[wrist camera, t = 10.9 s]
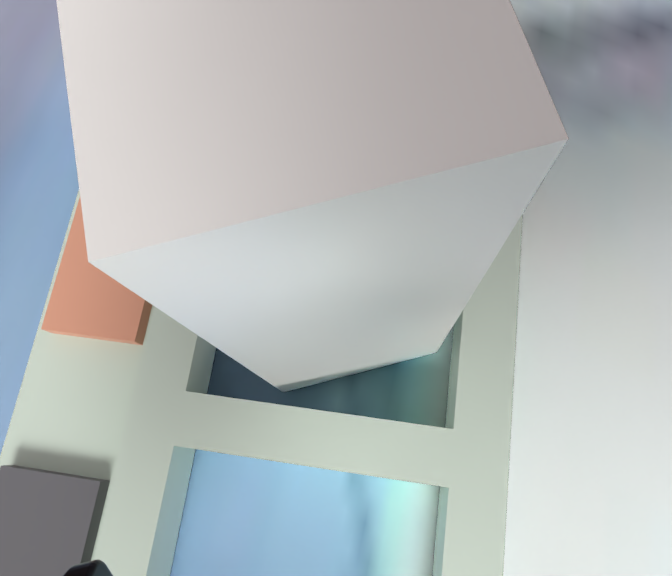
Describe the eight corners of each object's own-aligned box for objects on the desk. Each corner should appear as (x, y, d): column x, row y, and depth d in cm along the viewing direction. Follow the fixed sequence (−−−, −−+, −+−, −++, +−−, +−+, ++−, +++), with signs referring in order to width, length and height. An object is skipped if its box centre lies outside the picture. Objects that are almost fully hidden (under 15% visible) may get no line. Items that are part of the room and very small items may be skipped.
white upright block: (436, 352, 18) (568, 138, 6) (283, 392, 18) (89, 262, 6) (393, 212, 19) (427, -195, 7) (251, 248, 19) (44, -99, 7)
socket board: (468, 871, 14) (483, 939, 12) (-65, 753, 15) (-127, 796, 13) (511, 170, 19) (526, 139, 17) (112, 133, 21) (86, 100, 19)
